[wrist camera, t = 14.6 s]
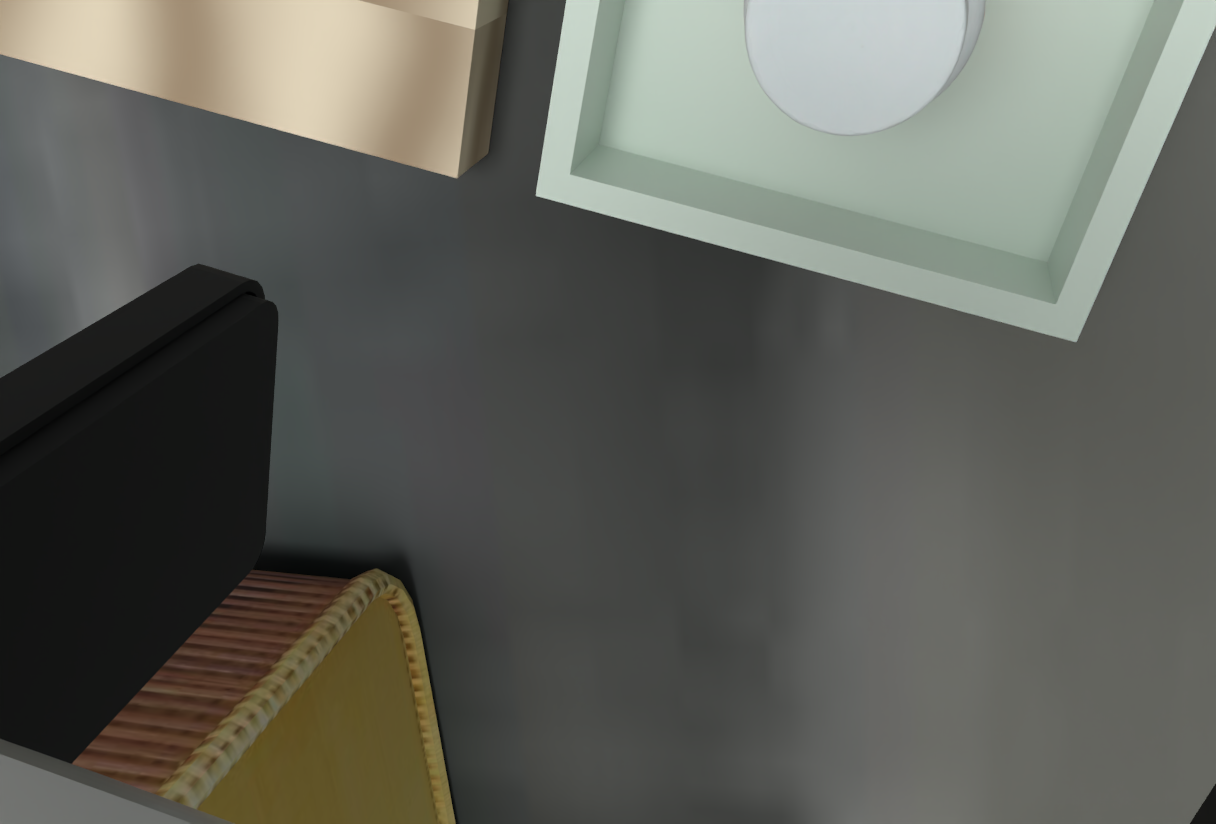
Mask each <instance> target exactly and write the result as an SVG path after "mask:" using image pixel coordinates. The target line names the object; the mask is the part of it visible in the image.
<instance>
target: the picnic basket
mask: <svg viewBox="0 0 1216 824" xmlns="http://www.w3.org/2000/svg"><path fill="white" fill-rule="evenodd" d="M72 764H73V765H76V766H79V767H82V768H84V769H87V770H90V771H93V772H96V773H99V774H101V775H104V776H107V777H109V778H112V779H115V780H118V781H120V782H123V783H126V784H128V785H131V786H134V787H137V788H139V789H142V790H145V791H148V792H150V793H153V794H156V795H158V796H161V797H164V798H167V799H169V800H172V801H175V802H177V803H180V804H183V805H186V806H188V807H191V808H194V809H197V810H199V811H202V812H205V813H207V814H210V815H213V816H216V817H218V818H221V819H224V820H227V821H229V822H232V823H235V824H456V823H455V818H454V812H453V807H452V801H451V796H450V790H449V785H448V779H447V774H446V768H445V763H444V757H443V752H442V746H441V741H440V735H439V730H438V724H437V719H436V713H435V708H434V702H433V697H432V691H431V686H430V680H429V675H428V669H427V664H426V658H425V653H424V647H423V642H422V636H421V631H420V626H419V623H418V619H417V615H416V612H415V608H414V605H413V601H412V599H411V597H410V595H409V594H408V592H407V590H406V589H405V587H404V585H403V584H402V582H401V580H399V579H397V578H395V577H393V576H391V575H389V574H387V573H385V572H383V571H381V570H379V569H377V568H376V569H372V570H369V571H366V572H364V573H362V574H360V575H358V576H356V577H354V578H352V579H341V578H331V577H321V576H311V575H301V574H290V573H280V572H270V571H260V570H251V571H250V573H249V574H248V575H247V576H246V577H245V578H244V579H243V580H242V582H241V583H240V584H239V585H238V586H237V587H236V588H235V589H234V590H233V591H232V592H231V593H230V594H229V595H228V597H227V598H226V599H225V600H224V601H223V602H222V603H221V604H220V605H219V606H218V607H217V608H216V609H215V610H214V612H213V613H212V614H211V615H210V616H209V617H208V618H207V619H206V620H205V621H204V622H203V623H202V624H201V626H200V627H199V628H198V629H197V630H196V631H195V632H194V633H193V634H192V635H191V636H190V637H189V638H188V639H187V641H186V642H185V643H184V644H183V645H182V646H181V647H180V648H179V649H178V650H177V651H176V652H175V653H174V654H173V656H172V657H171V658H170V659H169V660H168V661H167V662H166V663H165V664H164V665H163V666H162V667H161V668H160V669H159V671H158V672H157V673H156V674H155V675H154V676H153V677H152V678H151V679H150V680H149V681H148V682H147V683H146V684H145V686H144V687H143V688H142V689H141V690H140V691H139V692H138V693H137V694H136V695H135V696H134V697H133V698H132V700H131V701H130V702H129V703H128V704H127V705H126V706H125V707H124V708H123V709H122V710H121V711H120V712H119V713H118V715H117V716H116V717H115V718H114V719H113V720H112V721H111V722H110V723H109V724H108V725H107V726H106V727H105V728H104V730H103V731H102V732H101V733H100V734H99V735H98V736H97V737H96V738H95V739H94V740H93V741H92V742H91V743H90V745H89V746H88V747H87V748H86V749H85V750H84V751H83V752H82V753H81V754H80V755H79V756H78V757H77V758H76V760H75V761H74V762H73V763H72Z"/></svg>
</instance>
